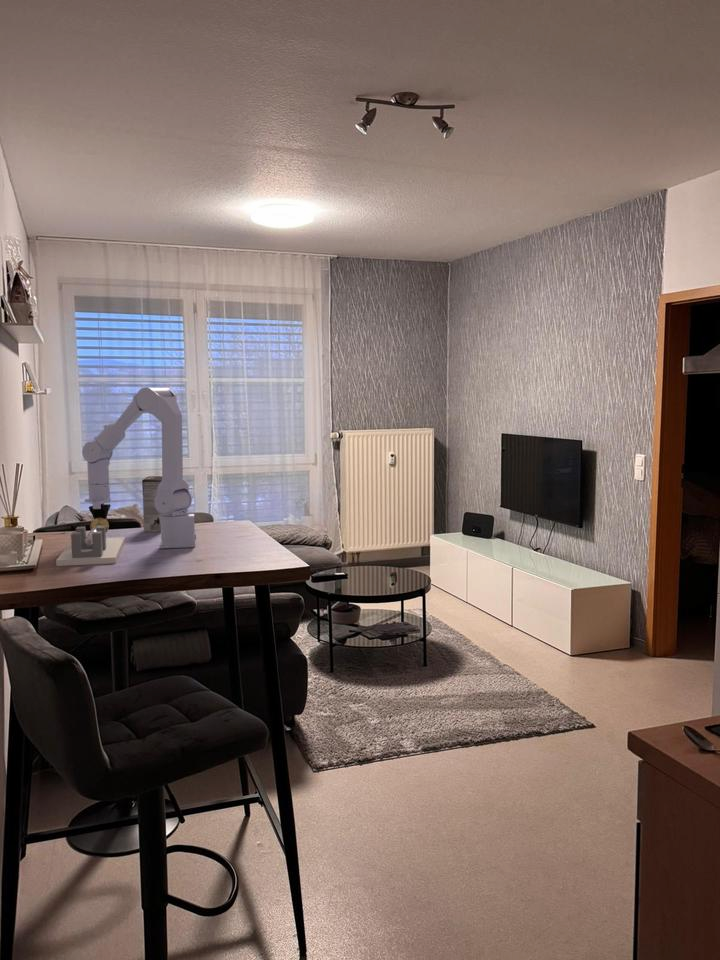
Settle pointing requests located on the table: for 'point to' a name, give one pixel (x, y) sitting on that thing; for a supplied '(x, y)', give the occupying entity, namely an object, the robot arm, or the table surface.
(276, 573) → the table surface
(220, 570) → the table surface
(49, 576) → the table surface
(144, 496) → the coffee box
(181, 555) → the table surface
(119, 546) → the shaft housing
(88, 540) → the shaft
